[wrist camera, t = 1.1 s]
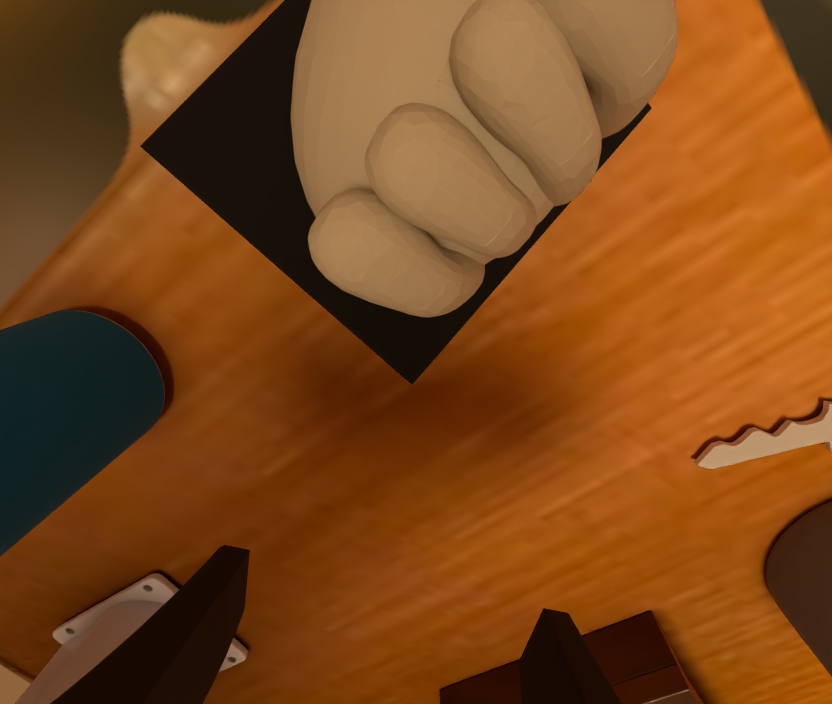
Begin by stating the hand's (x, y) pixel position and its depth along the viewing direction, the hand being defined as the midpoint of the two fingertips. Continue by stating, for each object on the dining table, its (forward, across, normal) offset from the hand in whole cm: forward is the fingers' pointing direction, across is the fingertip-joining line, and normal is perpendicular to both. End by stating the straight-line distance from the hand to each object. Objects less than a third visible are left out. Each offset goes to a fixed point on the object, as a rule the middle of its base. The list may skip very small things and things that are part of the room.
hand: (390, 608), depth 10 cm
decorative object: (+5, +5, -15) cm, 16 cm away
